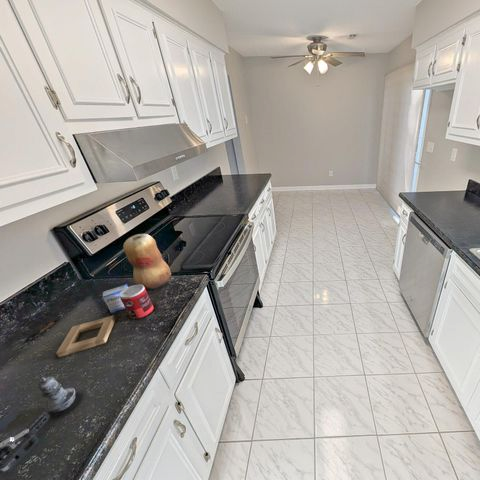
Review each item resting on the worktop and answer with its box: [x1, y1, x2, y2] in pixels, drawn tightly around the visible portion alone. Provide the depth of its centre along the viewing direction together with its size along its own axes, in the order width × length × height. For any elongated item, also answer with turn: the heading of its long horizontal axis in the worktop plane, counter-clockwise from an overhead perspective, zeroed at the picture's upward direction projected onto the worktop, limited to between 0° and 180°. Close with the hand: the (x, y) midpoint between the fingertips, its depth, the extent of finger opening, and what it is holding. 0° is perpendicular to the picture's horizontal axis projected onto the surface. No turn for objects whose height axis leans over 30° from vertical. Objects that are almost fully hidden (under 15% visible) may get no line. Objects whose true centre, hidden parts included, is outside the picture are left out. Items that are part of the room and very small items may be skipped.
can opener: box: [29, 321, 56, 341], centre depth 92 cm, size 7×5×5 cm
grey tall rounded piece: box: [37, 376, 76, 413], centre depth 64 cm, size 6×6×12 cm
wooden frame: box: [55, 314, 117, 358], centre depth 88 cm, size 13×13×2 cm
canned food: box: [119, 284, 154, 320], centre depth 96 cm, size 8×8×11 cm
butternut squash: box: [122, 233, 172, 290], centre depth 109 cm, size 14×13×25 cm
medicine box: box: [102, 283, 129, 314], centre depth 101 cm, size 8×4×9 cm, turn 126°
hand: (30, 413), depth 59 cm, fingers open, 8 cm apart
